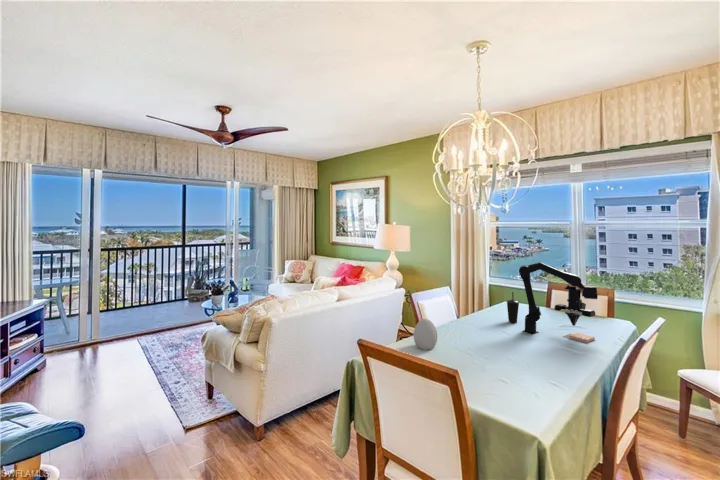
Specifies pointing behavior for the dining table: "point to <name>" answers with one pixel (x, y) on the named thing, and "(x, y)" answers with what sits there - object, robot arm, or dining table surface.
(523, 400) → the dining table surface
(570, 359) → the dining table surface
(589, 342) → the mat
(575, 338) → the tile
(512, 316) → the drinking cup
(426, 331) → the decorative egg
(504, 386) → the dining table surface
